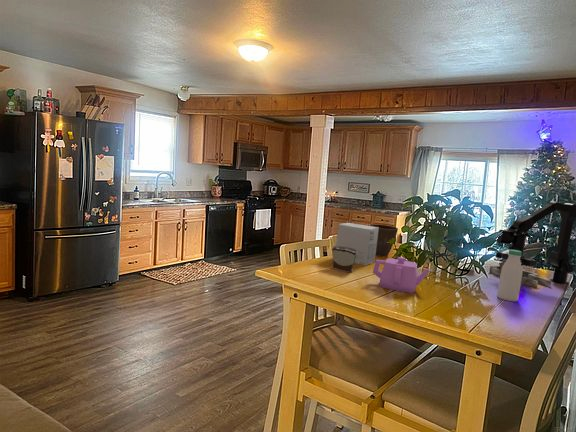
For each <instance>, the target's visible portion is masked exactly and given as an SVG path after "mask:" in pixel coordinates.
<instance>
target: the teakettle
mask: <svg viewBox="0 0 576 432" xmlns="http://www.w3.org/2000/svg"><path fill="white" fill-rule="evenodd" d="M380 265H383V267H382V270H380ZM430 272H431V269H429V268H425V269H424V270H423V271H422V272H421V273H419V274H418V265H417V262H414V261H409V260H406V257H402V256H397V258H387V259H386V260H383V259H375V262H374V265H373V270H372V273H373V274H374V275H375V276H377V277H378V278H379V286H380V288H383V289H387V290H392V291H397V292H400V293H401V292H402V293H407V294H408V293H409V294H414V292H416V288H417V286H418V285H419V284H420V283H421V282H422V281H423V280H424V279H425V277H426V276H427V275H428V274H429V273H430Z"/></svg>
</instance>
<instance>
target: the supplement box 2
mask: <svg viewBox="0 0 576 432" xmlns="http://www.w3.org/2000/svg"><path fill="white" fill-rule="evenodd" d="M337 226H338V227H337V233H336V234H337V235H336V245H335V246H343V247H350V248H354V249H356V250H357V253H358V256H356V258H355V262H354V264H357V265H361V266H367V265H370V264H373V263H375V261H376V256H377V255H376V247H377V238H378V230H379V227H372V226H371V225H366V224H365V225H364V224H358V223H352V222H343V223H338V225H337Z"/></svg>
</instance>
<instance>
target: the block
mask: <svg viewBox="0 0 576 432" xmlns="http://www.w3.org/2000/svg"><path fill="white" fill-rule="evenodd" d="M505 262H506V261H505V260H503V261H501V262H499V263H498V266H500V270H502V267H503V265H504V264H505Z"/></svg>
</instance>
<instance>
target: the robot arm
mask: <svg viewBox="0 0 576 432" xmlns="http://www.w3.org/2000/svg"><path fill="white" fill-rule="evenodd" d="M555 211H559V215H560V219H561V225H560V228H559V234H558V239H557V244H556V248H555V249H554V250H553V251H552V250H550V252H549V257H548V259H549V263H550V264H551V268H553V269H554V271H553V277H552V278H550V279H549V280H551V282H554V283H558V284H561V285H562V284H570V282H569V281H567V280H568V278H569V277H568V276H569V273H571V274H572V273H573V271H574V267H573V265H571V264H570V257H571V256H570V253H569V245H570V241H571V236H572V231H573V226H574V223H575V221H576V203H571V202H570V203H569V202H566V203H562V202H558V201H549V202H547V204H545V205H544V206H542V207H539V208H538V209H537V210H536V211H533V212H532V213H531V214H529V215H527V216H524V217H520V218H517V219H515V220H514V221H513V222H512V224H511V226H509V228H507V230H504V229H499V231H498V232H501V231H503V232H502V233H503V234H502V235H501V236H499V237H498V239H497V242H496V243H497V244H501V245H503V244H504V245H509V246H508V249H505V250H504V251H497V252H496V253H495V258H498V259H502V260H504V261H507V259H508V257H509V255H508V254H509V250H518V251H521V252H522V255H521V257H520V263H521V266H522V267H523V266H526V267H536V266H537V260H536V259H533V258H532V259H531V258H525V255H524V251H526V249H527V248H526V247H525V245H526V239H527V238H531V237H532V236H531V235H530V234H529V231H530V230H531V229H532V228H534V226H535V224H536V223H538V222H540V221H541V220H542V219H544V218H546V217H548V216H549V215H551V214H553V213H554V212H555Z"/></svg>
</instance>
